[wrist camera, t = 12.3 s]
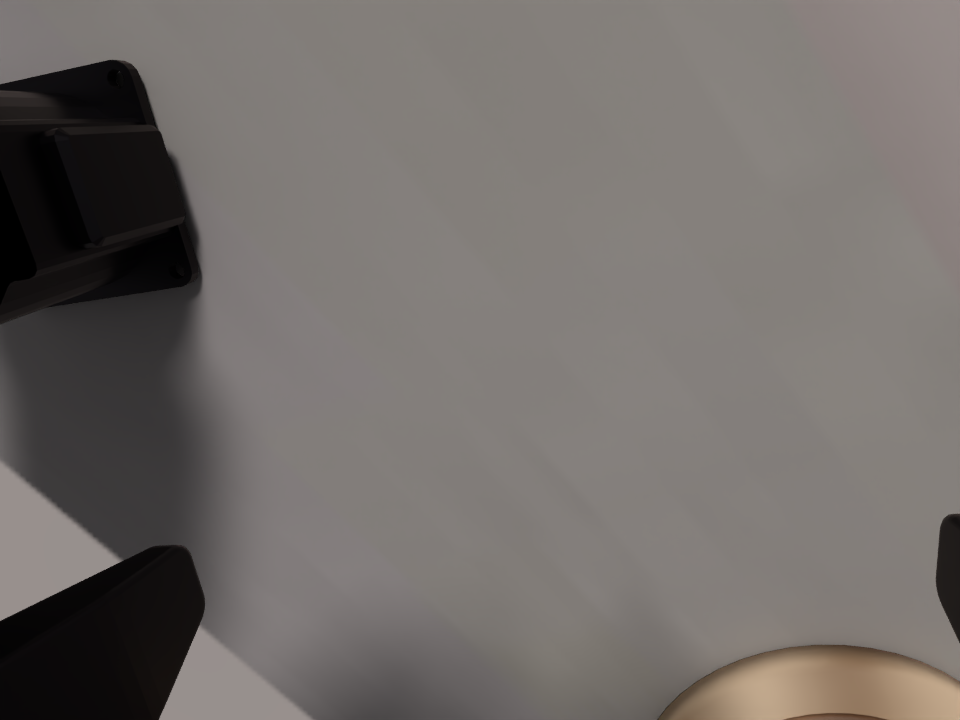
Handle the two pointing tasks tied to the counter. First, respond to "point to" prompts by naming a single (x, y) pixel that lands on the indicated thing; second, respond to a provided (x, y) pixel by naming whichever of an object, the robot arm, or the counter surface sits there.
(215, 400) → the counter surface
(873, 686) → the coaster
